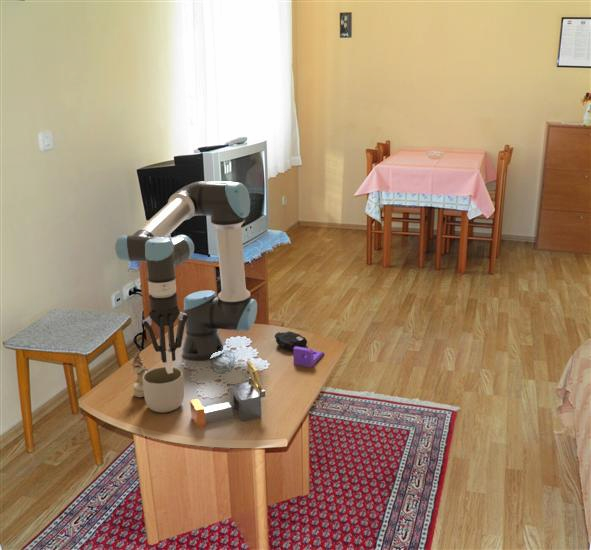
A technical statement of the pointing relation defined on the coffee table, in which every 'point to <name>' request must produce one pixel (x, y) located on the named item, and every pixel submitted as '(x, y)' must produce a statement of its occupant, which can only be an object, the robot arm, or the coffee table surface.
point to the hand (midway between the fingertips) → (169, 371)
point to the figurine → (138, 374)
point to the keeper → (250, 368)
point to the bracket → (305, 356)
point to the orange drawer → (209, 413)
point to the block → (246, 400)
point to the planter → (163, 389)
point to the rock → (290, 340)
